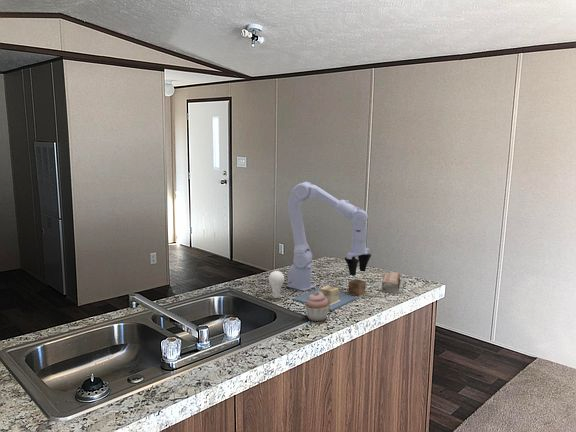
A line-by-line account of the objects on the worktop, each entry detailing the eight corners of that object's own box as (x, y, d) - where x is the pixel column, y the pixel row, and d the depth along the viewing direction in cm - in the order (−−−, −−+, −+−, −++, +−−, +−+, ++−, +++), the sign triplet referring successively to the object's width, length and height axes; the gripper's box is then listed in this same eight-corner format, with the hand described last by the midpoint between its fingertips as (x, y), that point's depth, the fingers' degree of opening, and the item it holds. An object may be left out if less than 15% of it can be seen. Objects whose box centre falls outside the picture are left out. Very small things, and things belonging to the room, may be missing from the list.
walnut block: (348, 293, 194) (348, 281, 194) (354, 290, 198) (355, 278, 197) (358, 296, 191) (359, 284, 190) (365, 293, 195) (365, 281, 194)
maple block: (320, 301, 182) (320, 288, 182) (327, 297, 186) (327, 285, 185) (330, 304, 179) (331, 291, 178) (338, 300, 183) (338, 288, 182)
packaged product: (402, 283, 194) (378, 280, 197) (402, 294, 195) (377, 292, 198) (405, 271, 211) (382, 269, 214) (404, 282, 212) (381, 280, 215)
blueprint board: (293, 300, 185) (293, 298, 185) (320, 289, 199) (320, 287, 199) (331, 311, 174) (331, 309, 174) (357, 298, 188) (357, 297, 187)
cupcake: (298, 318, 167) (298, 290, 165) (314, 311, 174) (315, 284, 172) (319, 325, 161) (320, 297, 159) (335, 317, 167) (336, 290, 166)
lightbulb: (274, 294, 191) (274, 268, 189) (287, 298, 187) (287, 270, 186) (265, 298, 186) (265, 271, 184) (277, 302, 182) (278, 274, 181)
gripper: (358, 244, 183) (356, 278, 185) (376, 238, 194) (375, 271, 196) (342, 241, 187) (341, 275, 190) (361, 236, 198) (360, 268, 201)
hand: (357, 273), depth 193 cm, fingers open, 7 cm apart
